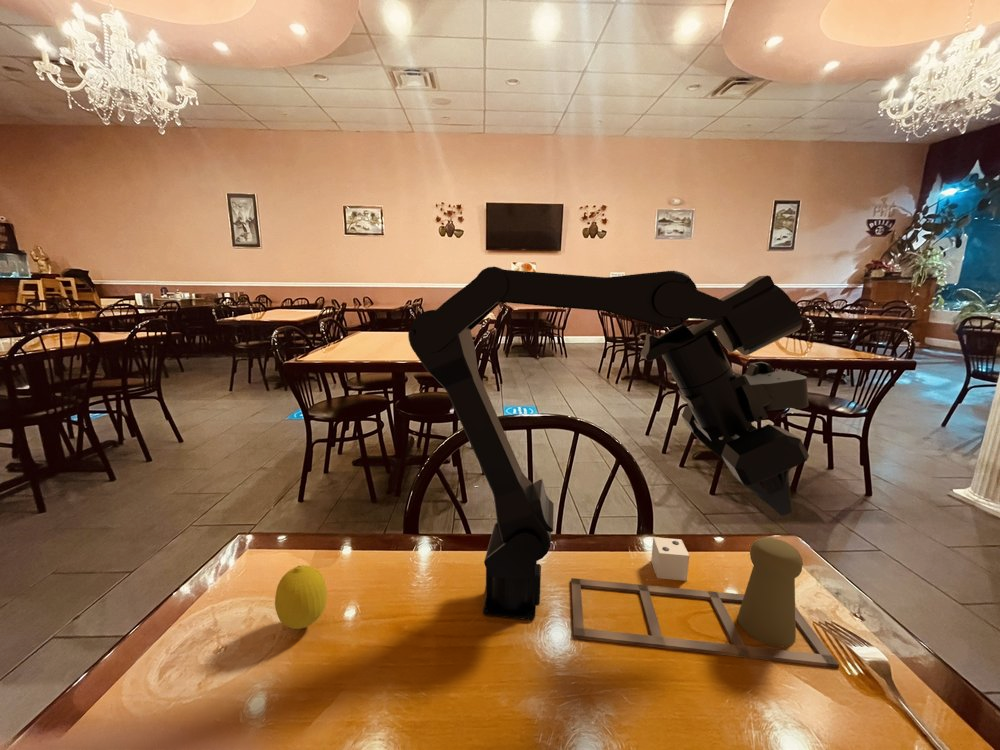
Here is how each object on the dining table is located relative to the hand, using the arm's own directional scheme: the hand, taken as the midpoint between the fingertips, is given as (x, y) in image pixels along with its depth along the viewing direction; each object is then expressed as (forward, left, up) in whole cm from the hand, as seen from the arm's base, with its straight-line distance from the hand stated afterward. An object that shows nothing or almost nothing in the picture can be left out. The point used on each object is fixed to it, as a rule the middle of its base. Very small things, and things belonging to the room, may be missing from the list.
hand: (765, 493), depth 49 cm
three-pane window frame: (-7, 0, -17) cm, 19 cm away
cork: (+2, 0, -17) cm, 18 cm away
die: (-7, +9, -17) cm, 21 cm away
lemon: (-53, -8, -17) cm, 56 cm away
